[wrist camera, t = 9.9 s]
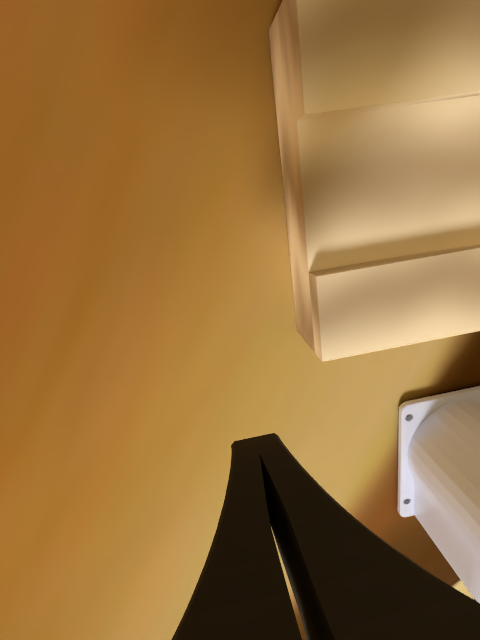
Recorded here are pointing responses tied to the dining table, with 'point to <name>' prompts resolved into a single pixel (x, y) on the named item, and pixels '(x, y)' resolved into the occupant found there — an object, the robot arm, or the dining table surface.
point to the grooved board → (380, 169)
